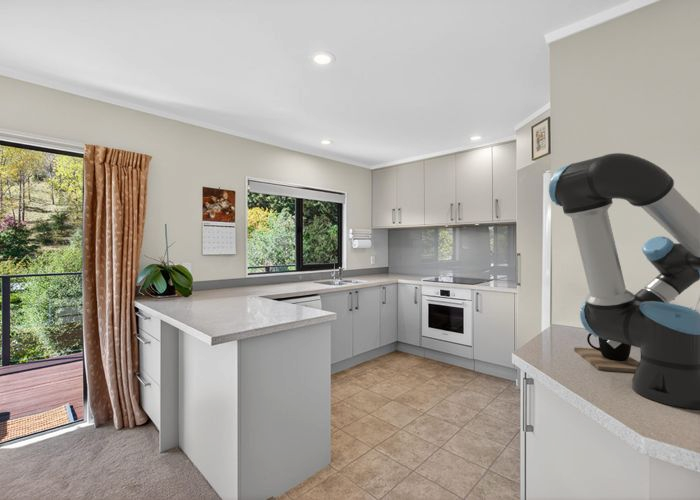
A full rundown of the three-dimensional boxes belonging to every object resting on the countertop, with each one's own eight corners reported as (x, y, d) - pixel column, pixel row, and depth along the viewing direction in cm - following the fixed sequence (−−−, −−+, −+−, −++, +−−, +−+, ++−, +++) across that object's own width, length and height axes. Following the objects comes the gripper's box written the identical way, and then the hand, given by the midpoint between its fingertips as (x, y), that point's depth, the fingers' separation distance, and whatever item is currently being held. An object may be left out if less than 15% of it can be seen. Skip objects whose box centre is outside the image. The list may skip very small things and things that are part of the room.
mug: (629, 356, 113) (629, 326, 113) (635, 364, 105) (634, 332, 105) (586, 350, 119) (585, 322, 119) (588, 358, 111) (588, 328, 111)
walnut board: (652, 374, 100) (652, 370, 100) (597, 369, 104) (597, 366, 104) (618, 353, 119) (618, 350, 119) (574, 350, 123) (574, 347, 123)
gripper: (692, 312, 95) (630, 359, 100) (642, 298, 119) (594, 337, 124) (669, 293, 97) (609, 341, 101) (624, 283, 121) (577, 322, 125)
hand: (600, 339), depth 112 cm, fingers open, 13 cm apart
